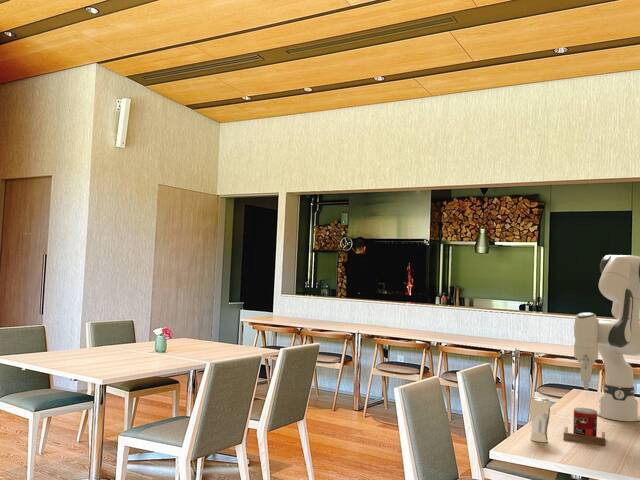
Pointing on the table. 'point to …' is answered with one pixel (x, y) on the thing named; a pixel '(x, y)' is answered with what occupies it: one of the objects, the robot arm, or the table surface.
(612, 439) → the table surface
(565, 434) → the open wooden square
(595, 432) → the canned food
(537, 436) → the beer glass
